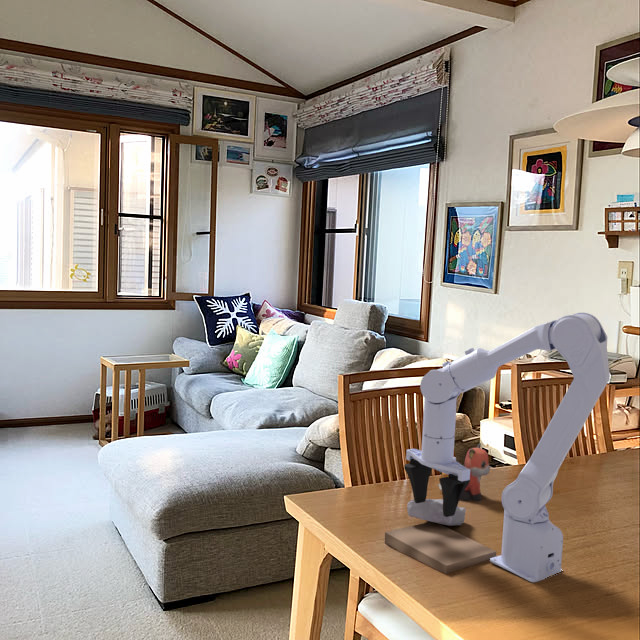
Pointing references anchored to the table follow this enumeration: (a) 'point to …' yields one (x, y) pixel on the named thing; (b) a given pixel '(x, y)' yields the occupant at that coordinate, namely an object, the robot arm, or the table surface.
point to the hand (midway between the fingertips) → (434, 508)
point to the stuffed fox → (475, 473)
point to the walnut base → (438, 547)
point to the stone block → (435, 512)
